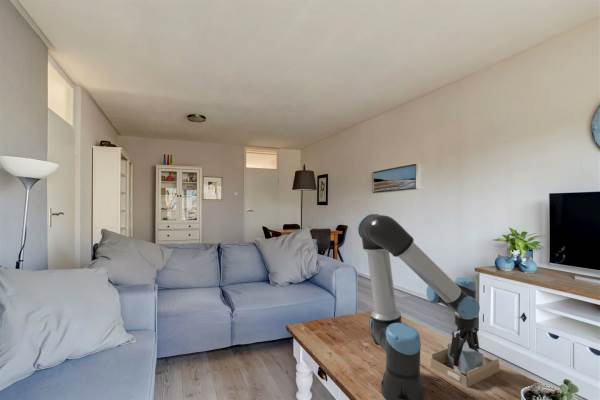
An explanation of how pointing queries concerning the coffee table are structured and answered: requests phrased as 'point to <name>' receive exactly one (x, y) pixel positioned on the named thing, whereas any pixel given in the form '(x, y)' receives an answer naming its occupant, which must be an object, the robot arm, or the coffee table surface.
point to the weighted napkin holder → (467, 359)
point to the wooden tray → (472, 376)
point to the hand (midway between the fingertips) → (464, 370)
